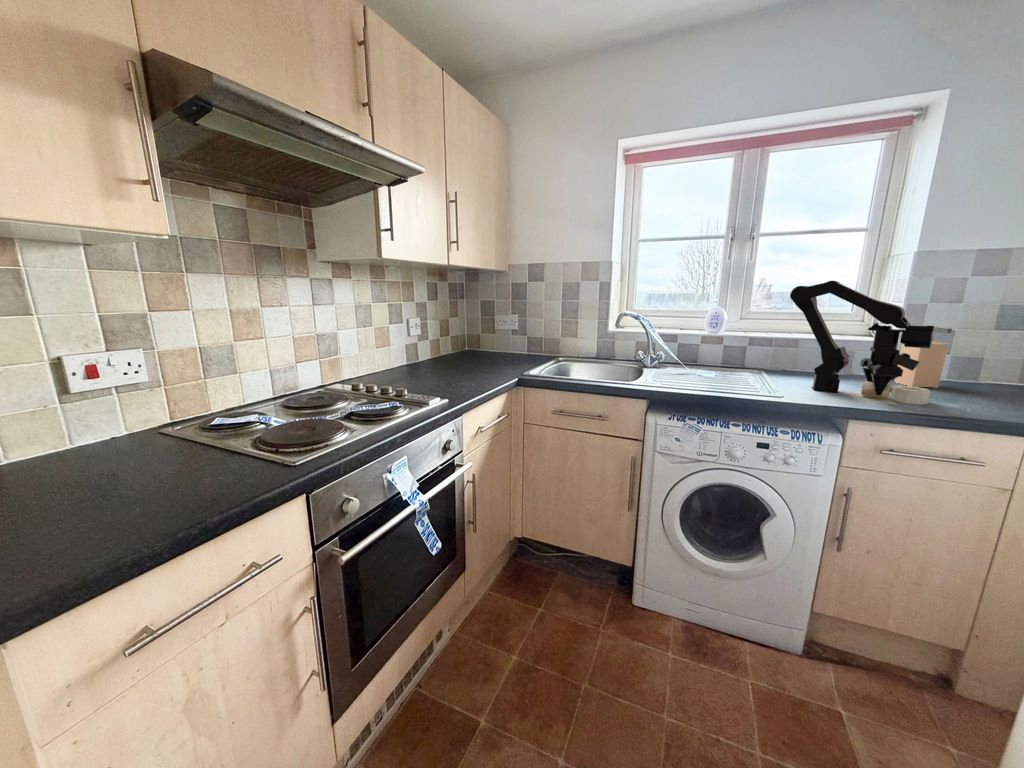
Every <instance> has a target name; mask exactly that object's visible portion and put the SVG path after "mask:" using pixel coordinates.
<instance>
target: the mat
mask: <svg viewBox="0 0 1024 768" xmlns="http://www.w3.org/2000/svg"><path fill="white" fill-rule="evenodd" d="M845 392H846V393H847V394H848V395H850V397H852V398H853V399H854V400H855V401H856V402H866V403H875V404H883V405H884V404H886V405H895V406H899V404H898V403H897V402H895V401H894V400H892V399H891V398H890V397H888V398H876V397H869V396H865V395H862V394H861V391H860V390H859V391H856V390H847V389H845Z"/></svg>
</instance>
